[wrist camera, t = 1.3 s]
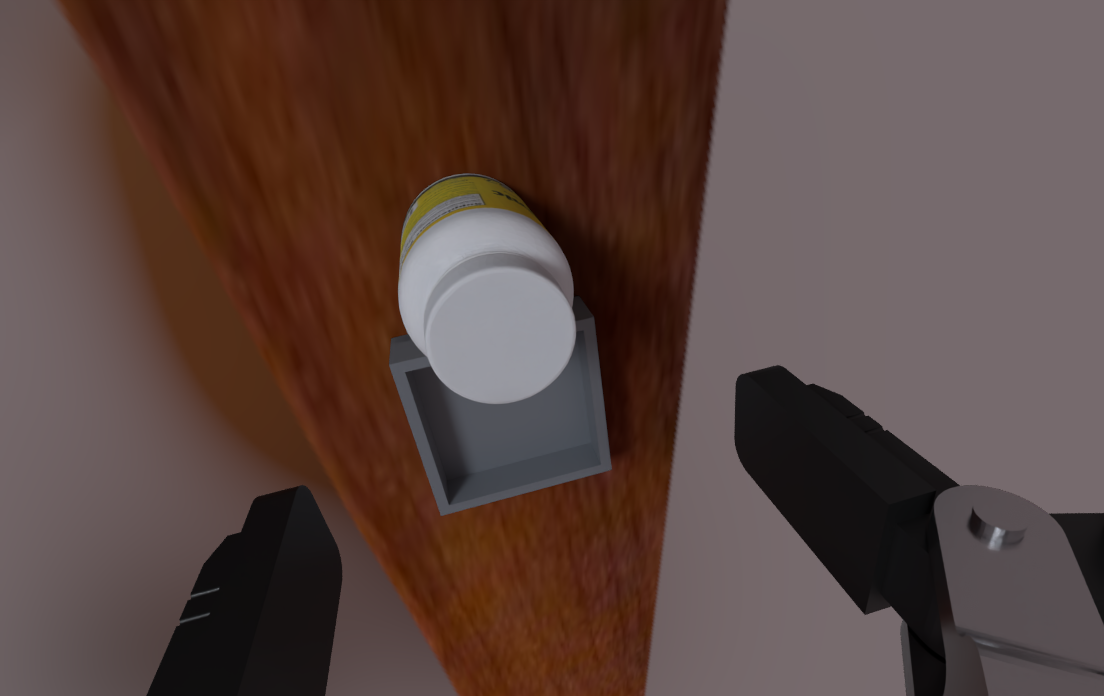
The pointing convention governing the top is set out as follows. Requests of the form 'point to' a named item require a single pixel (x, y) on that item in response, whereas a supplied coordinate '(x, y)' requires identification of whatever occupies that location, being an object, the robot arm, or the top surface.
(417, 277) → the supplement bottle
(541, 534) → the top surface
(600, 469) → the tray
